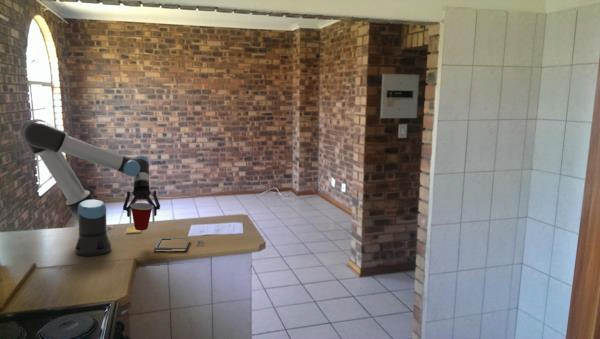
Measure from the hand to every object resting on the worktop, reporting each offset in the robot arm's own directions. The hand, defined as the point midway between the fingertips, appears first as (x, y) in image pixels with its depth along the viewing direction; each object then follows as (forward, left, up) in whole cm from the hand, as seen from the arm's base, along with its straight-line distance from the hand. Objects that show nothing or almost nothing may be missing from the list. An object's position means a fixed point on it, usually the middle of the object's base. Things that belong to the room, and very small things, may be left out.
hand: (142, 221), depth 202 cm
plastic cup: (-1, +3, -5) cm, 6 cm away
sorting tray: (+14, +3, -14) cm, 20 cm away
